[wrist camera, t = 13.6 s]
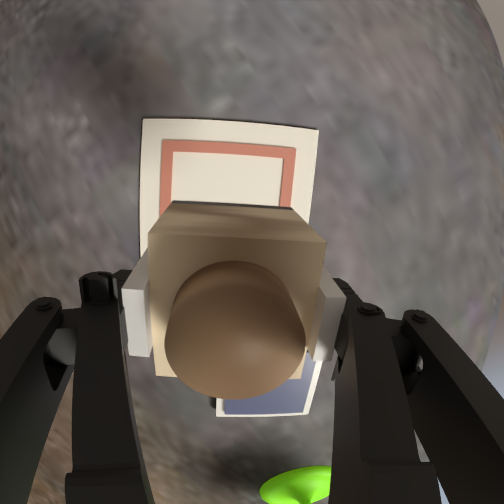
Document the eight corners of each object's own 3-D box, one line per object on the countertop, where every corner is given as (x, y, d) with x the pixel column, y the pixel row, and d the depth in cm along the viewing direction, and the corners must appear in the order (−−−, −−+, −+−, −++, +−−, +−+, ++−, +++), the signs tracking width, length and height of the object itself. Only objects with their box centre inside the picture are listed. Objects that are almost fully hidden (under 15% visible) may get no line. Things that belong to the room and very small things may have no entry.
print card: (142, 282, 32) (141, 284, 31) (143, 118, 26) (142, 118, 26) (298, 289, 33) (299, 291, 33) (317, 130, 28) (319, 130, 28)
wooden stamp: (173, 306, 18) (148, 409, 10) (173, 200, 16) (132, 253, 8) (278, 310, 19) (311, 411, 11) (290, 207, 17) (347, 263, 9)
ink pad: (216, 409, 38) (216, 419, 37) (218, 336, 34) (218, 345, 33) (306, 408, 40) (308, 416, 38) (324, 336, 36) (328, 344, 34)
